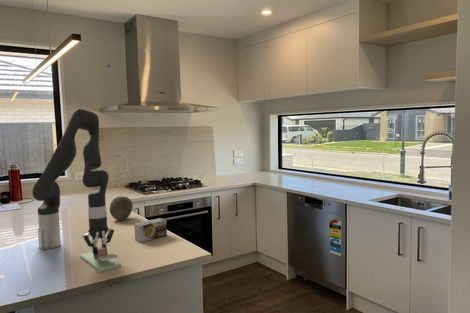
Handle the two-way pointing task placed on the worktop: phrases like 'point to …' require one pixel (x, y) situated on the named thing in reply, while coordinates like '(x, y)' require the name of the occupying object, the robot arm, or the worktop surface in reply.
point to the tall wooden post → (103, 254)
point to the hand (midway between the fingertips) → (99, 253)
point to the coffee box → (150, 230)
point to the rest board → (99, 262)
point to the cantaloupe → (121, 208)
